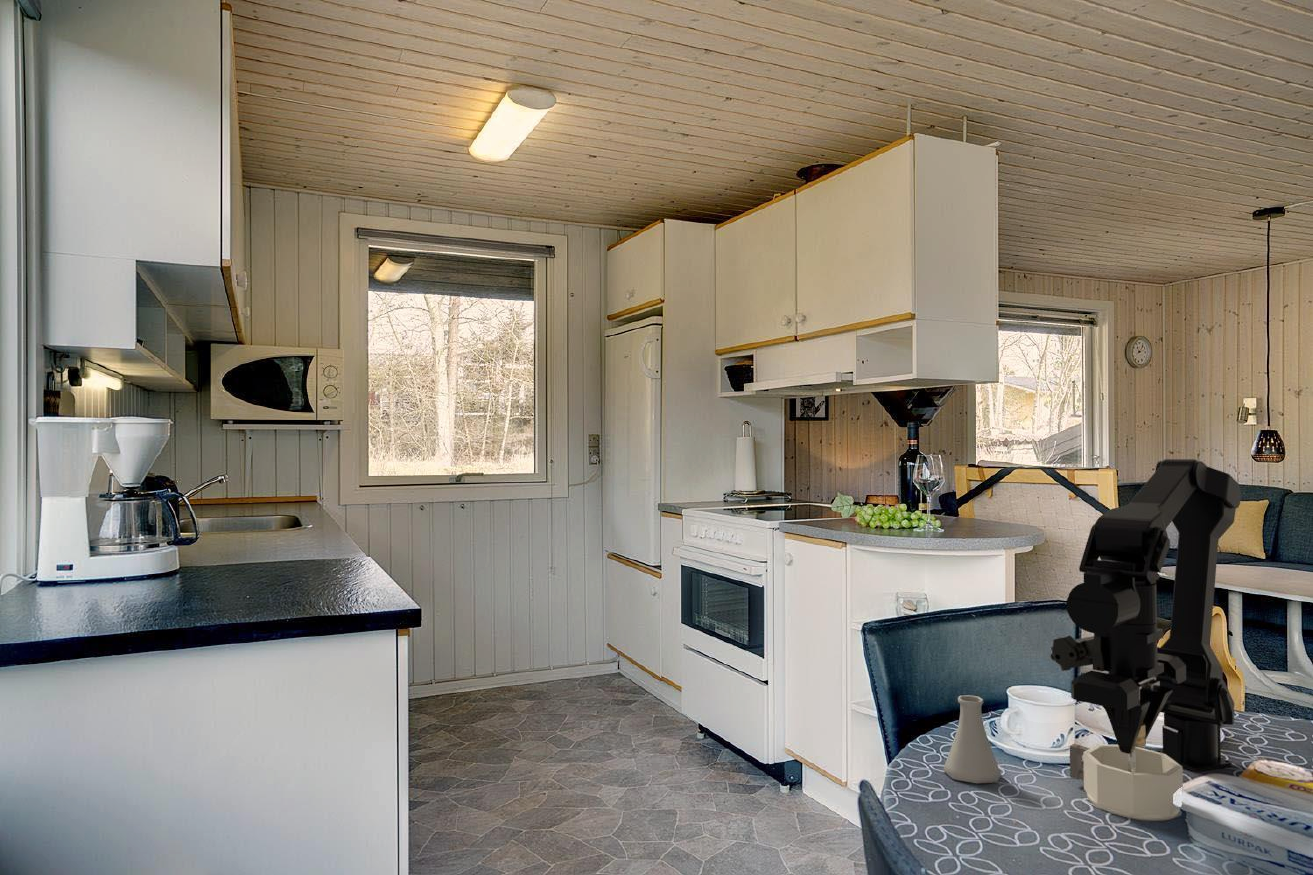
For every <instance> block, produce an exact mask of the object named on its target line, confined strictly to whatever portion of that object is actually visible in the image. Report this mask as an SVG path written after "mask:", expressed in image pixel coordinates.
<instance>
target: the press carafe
mask: <svg viewBox="0 0 1313 875" xmlns="http://www.w3.org/2000/svg"><path fill="white" fill-rule="evenodd" d="M1135 760H1136V773H1132V772H1128V754H1127V753H1123V752H1121V751H1120V749H1119V746H1118V744H1100V743H1099V744H1096V745H1094V746H1092V747H1087V746H1084V745H1081V744H1077V743H1072V744H1070V745H1069V776H1070V778H1071V779H1074V780H1078V781H1079V780H1080V781H1083V790H1084V791H1085V792H1086V797H1087V799H1088V801H1089V802H1090V803H1091V804H1092V805H1094V806H1096V807H1097V808H1099V809H1100V810H1103V811H1105V812H1108V813H1110V814H1112V815H1116V816H1121V817H1124V818H1127V819H1134V820H1138V821H1139V820H1140V821H1147V822H1148V821H1149V822H1161V821H1168V820H1173V819H1176V818H1178V817H1179V815H1180V814H1181V808H1178V807H1176V806H1175V805H1174V804H1173V794H1174V793H1175V792H1176V791H1177V790H1178V789H1179V788H1181V787H1183V788H1184V785H1183V784H1184V782H1183V780H1184V778H1183V776H1184V775H1183V771H1184V770H1183V766H1181V765H1179V764H1178V763H1177V762H1175V761H1174V760H1173V759H1171V758H1170V757H1169V756H1167V755H1166V754H1163V753H1159V752H1155V750H1152V749H1146V748H1144V747H1135Z"/></svg>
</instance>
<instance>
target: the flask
mask: <svg viewBox="0 0 1313 875" xmlns="http://www.w3.org/2000/svg"><path fill="white" fill-rule="evenodd" d="M957 703H959V705H960V707H959V709H960V710H959V711H960V712H959V719H958V726H957V729H956V732H955V736H954V738H953V741H952V744H951V747H950V751H949V752H948V755H947V759H945V760H946V761H945V764H944V766H943V769H942V771H943V772H944V773H945V774H947V775H948V776H949V777H950V779H953V780H955V781H961V782H967V783H971V784H972V783H973V784H988V783H989V784H990V783H998V782H999V780H1000V777H1001V775H1002V774H1001V770H1000V768H999V765H998V762H997V760H996V758H995V755H994V752H993V749H992V747H991V744H990V741H989V738H988V735H987V733H986V729H985V727H984V726H985V725H984V721H983V716H982V715H983V714H982V706H983V704H984V698H982V697H980V696H978V695H977V696H976V695H970V694H965V695H959V696H958V697H957Z"/></svg>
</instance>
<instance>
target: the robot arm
mask: <svg viewBox="0 0 1313 875" xmlns="http://www.w3.org/2000/svg"><path fill="white" fill-rule="evenodd" d="M1241 500H1242V490H1241V486H1240V484H1239V483H1238V482H1237V480H1236V479H1235V478H1233V476H1231V474H1229V473H1227V472H1224V471H1222V470H1218V469H1216V468H1213V467H1211V466H1207V465H1206V464H1205V463H1204V462H1203V461H1202V460H1201V461H1199V460H1197V459H1196V458H1195V459H1194V458H1192V459H1191V458H1189V459H1188V458H1175V459H1174V458H1165V459H1164V460H1159V461H1158V462H1157V463H1156V467H1155V472H1154V473H1153V474H1152V476H1151V477H1149V479H1148V480H1147V481H1146V482H1145V484H1144V485H1143V486H1142V487H1141V488H1140V490H1139V491H1138V492H1137V493H1136V495H1135V496H1134V497H1133V498H1132V500H1130V502H1129V503H1127V504H1125V505H1122V506H1118V507H1115V508H1111V509H1109V510H1107V511H1106V512H1104V513H1103V514H1102V515H1100V516H1099V517H1098V518H1097V519H1096V520H1095V522H1094V524H1093V525H1091V528H1090V530H1089V535H1088V538H1087V540H1086V544H1085V547H1084V551H1083V554H1082V556H1081V562H1080V565H1079V568H1078V570H1079V572H1080V573H1083V582H1082V583H1079V584H1077V585H1075V586H1074V587H1073V588H1072V589H1071V590H1070V592H1069V593H1068V595H1067V599H1066V602H1065V606H1066V611H1067V614H1068V616H1069V618H1070V619H1071V621H1072V623H1074V624H1075V625H1076V626H1077V627H1078V628H1079V629H1081V630H1083V631H1084V632H1088V633H1091V634H1093V636H1087V637H1081V638H1076V639H1074V637H1073V636H1072V635H1067V636H1063V637H1061V636H1060V637H1057V638H1054V639H1052V641H1053V642H1052V646H1051V647H1050V650H1051V654H1050V659H1051V660H1052V661H1055V663H1056V664H1058V665H1059V667H1060V669H1061V672H1062V671H1063V672H1064V671H1066V672H1067V671H1070V670H1072V668H1080V667H1086V666H1092V669H1091V670H1090V671H1086V672H1085V673H1082V674H1079V675H1078V676H1077V677H1075V678H1074V679H1073V680H1071V682H1070V695H1071V696H1070V697H1071V699H1072V700H1074V701H1079V702H1083V703H1088V704H1092V705H1097V706H1101V707H1102V708H1103V709H1104V711H1105V712H1106V715H1107V717H1108V720H1109V721H1110V725H1111V729H1112V731H1113V733H1114V737H1115V740H1116V743H1117V745H1118V746H1119V749H1120V751H1121V752H1123V753H1127V754H1130V753H1131V752H1132V749H1133V747H1134V745H1135V742H1136V740H1137V737H1138V734H1139V731H1140V729H1141V726H1142V723H1145V726H1146V739H1148V736H1149V734H1150V732H1151V730H1152V729H1153V726H1154V725H1155V723H1156V720H1158V717H1159V716H1160V713H1163V725H1162V731H1161V732H1162V749H1155V750H1154V751H1155V752H1159V753H1163V754H1166V755H1167V756H1169V757H1170V758H1171V759H1173V760H1174V761H1175V762H1177V763H1178V764H1179V765H1181V766H1182V768H1183V767H1184V768H1186V769H1188V770H1190V771H1194V772H1198V771H1199V772H1200V771H1205V770H1212V769H1213V770H1214V769H1219V768H1220V769H1222V768H1226V767H1232V761H1230V760H1228V759H1225V758H1223V757H1222V750H1221V749H1222V747H1221V746H1222V745H1221V744H1222V742H1221V738H1222V737H1221V733H1222V732H1221V727H1223V726H1224V725H1225V726H1229V725H1231V726H1232V725H1234V724H1235V713H1236V712H1235V701H1234V699H1233V697H1232V695H1231V693H1230V691H1229V688H1228V686H1227V684H1226V681H1225V680H1224V679H1223V675H1224V674H1223V670H1224V668H1223V666H1222V664H1221V662H1220V660H1219V659H1218V657H1217V655H1216V654H1215V651H1214V649H1213V648H1212V647H1211V637H1212V635H1211V634H1212V626H1213V625H1212V623H1213V611H1214V601H1215V600H1214V599H1215V589H1216V588H1215V587H1216V575H1217V561H1218V551H1219V550H1218V547H1219V540H1220V539H1221V538H1222V536H1223V535H1224V534H1225V533H1226V532H1227V531H1228V530H1229V528H1230V527H1231V526H1232V525H1233V524H1234V522H1235V518H1236V511H1237V509H1239V508H1240V505H1241ZM1171 523H1172V524H1173V525H1174V527H1175V528H1176V531H1177V533H1178V538H1177V540H1178V541H1177V549H1176V550H1177V551H1176V561H1175V572H1174V582H1173V596H1172V606H1171V607H1172V608H1171V618H1170V630H1169V637H1168V638H1167V640H1166V641H1165V642H1164V643H1163V644H1162V645H1161V646H1160V647H1159V646H1158V640H1160V639H1161V640H1162V639H1164V629H1162V628H1158V612H1157V611H1158V607H1157V605H1158V601H1157V600H1158V599H1157V580H1159V579H1160V574H1159V573H1161V571H1162V569H1163V566H1164V563H1165V560H1166V558H1167V555H1168V552H1169V550H1170V547H1171V539H1170V538H1169V536H1168V533H1167V528H1168V527H1169V525H1170V524H1171ZM1099 558H1100V559H1099ZM1106 672H1107V673H1106Z"/></svg>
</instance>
